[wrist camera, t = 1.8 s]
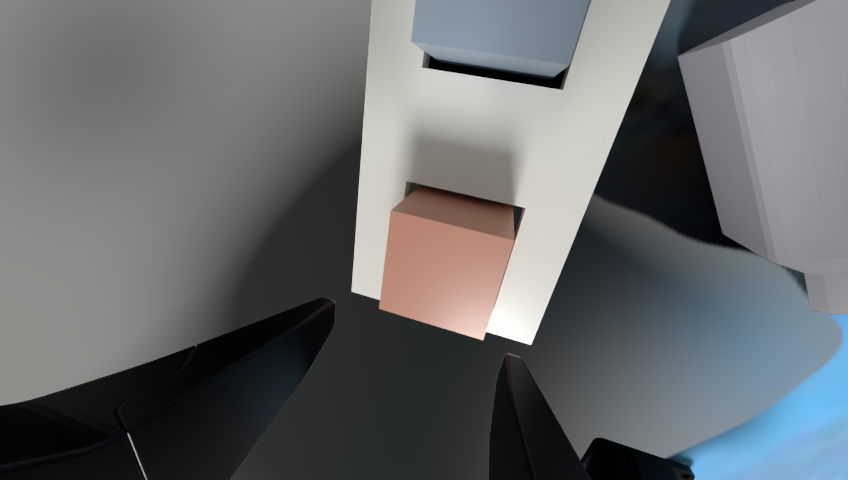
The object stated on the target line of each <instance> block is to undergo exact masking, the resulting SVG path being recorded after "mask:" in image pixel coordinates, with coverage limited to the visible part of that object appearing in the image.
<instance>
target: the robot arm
mask: <svg viewBox="0 0 848 480" xmlns="http://www.w3.org/2000/svg"><path fill="white" fill-rule="evenodd" d="M334 323H335V301H334V300H332V299H328V298H325V297H320V298H317V299H315V300H312V301H310V302H307V303H304V304H302V305H299V306H297V307H294V308H291V309H289V310H286V311H283V312H281V313H278V314H276V315H273V316H270V317H268V318H265V319H263V320H260V321H257V322H255V323H252V324H249V325H247V326H244V327H242V328H239V329H236V330H234V331H231V332H228V333H226V334H223V335H221V336H218V337H215V338H213V339H210V340H207V341H205V342H202V343H200V344H197V346H192V347H189V348H186V349H184V350H181V351H178V352H176V353H173V354H170V355H168V356H165V357H162V358H159V359H157V360H154V361H151V362H148V363H145V364H142V365H139V366H136V367H133V368H130V369H127V370H124V371H121V372H118V373H115V374H112V375H108V376H105V377H102V378H99V379H96V380H93V381H90V382H87V383H84V384H80V385H77V386H74V387H71V388H68V389H64V390H62V391H59V392H55V393H52V394H49V395H46V396H42V397H39V398H35V399H32V400H28V401H23V402H19V403H14V404H8V405H2V406H0V480H230V479H231V477H232V476H233V475H234V473H235V472H236V470H237V469H238V468H239V466H240V465H241V464H242V462H243V461H244V460H245V458H246V457H247V455H248V454H249V453H250V451H251V450H252V448H253V447H254V446H255V444H256V443H257V442H258V440H259V439H260V437H261V436H262V435H263V433H264V432H265V431H266V429H267V428H268V426H269V425H270V424H271V422H272V421H273V420H274V418H275V417H276V415H277V414H278V413H279V411H280V410H281V409H282V407H283V406H284V404H285V403H286V402H287V400H288V399H289V397H290V396H291V394H292V393H293V392H294V390H295V389H296V388H297V386H298V385H299V384H300V382H301V381H302V379H303V378H304V377H305V375H306V374H307V372H308V370H309V369H310V367H311V366H312V364H313V362H314V360H315V359H316V357H317V355H318V353H319V352H320V350H321V348H322V346H323V344H324V343H325V341H326V339H327V338H328V336H329V334H330V333H331V331H332V329H333V326H334ZM694 478H695V476H694V474H693V472H692V470H691V469H690V468H689V467H687V466H685V465H682V464H679V463H676V462H673V461H670V460H667V459H664V458H661V457H657V456H655V455H652V454H649V453H646V452H643V451H640V450H637V449H634V448H631V447H628V446H625V445H622V444H619V443H615V442H613V441H609V440H607V439H604V438H596V439H594V440H593V441H592V443H591V444H590V446H589V448H588V449H587V451H586V453H585V454H584V456H583V457H582V459H581V460H580V459H579V457H578V456H577V454H576V452H575V451H574V449H573V447H572V445H571V443H570V442H569V440H568V438H567V436H566V435H565V433H564V431H563V429H562V428H561V426H560V424H559V422H558V421H557V419H556V417H555V415H554V414H553V412H552V410H551V408H550V407H549V405H548V403H547V401H546V400H545V398H544V396H543V394H542V393H541V391H540V389H539V388H538V386H537V384H536V382H535V380H534V379H533V377H532V375H531V374H530V372H529V370H528V368H527V366H526V365H525V363H524V361H523V359H522V358H521V357H519V356H515V355H512V354H509V353H508V354H506V355H505V357H504V359H503V362H502V365H501V368H500V370H499V373H498V376H497V381H496V389H495V396H494V404H493V411H492V419H491V427H490V438H489V480H694Z"/></svg>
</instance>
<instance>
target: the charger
mask: <svg viewBox="0 0 848 480" xmlns="http://www.w3.org/2000/svg"><path fill="white" fill-rule="evenodd" d="M790 1H791V0H790ZM788 2H789V1H788ZM786 3H787V2H786ZM678 61H679V65H680V69H681V73H682V76H683V80H684V84H685V88H686V92H687V96H688V100H689V104H690V108H691V112H692V116H693V120H694V124H695V127H696V131H697V135H698V139H699V143H700V147H701V151H702V155H703V159H704V163H705V167H706V171H707V175H708V178H709V182H710V186H711V190H712V194H713V198H714V202H715V206H716V210H717V214H718V218H719V222H720V226H721V229H722V233H723V234H724V235H726V236H727V237H729V238H731V239H733V240H734V241H736V242H738V243H739V244H741V245H743V246H745V247H746V248H748V249H750V250H751V251H753V252H755V253H757V254H758V255H760V256H762V257H763V258H765V259H767V260H769V261H771V262H774V263H777V264H780V265H782V266H785V267H788V268H791V269H794V270H797V271H800V272H803V273H804V276H805V281H806V286H807V292H808V297H809V302H810V307H811V311H816V312H822V313H827V314H848V0H794V1H792V2H789V3H787V4H785V3H784V5H783V4H782V6H781V5H780V6H778V7H776V8H774V9H772V10H770V11H768V12H766V13H764V14H762V15H760V16H757V17H755V18H753V19H751V20H749V21H747V22H745V23H743V24H741V25H739V26H737V27H735V28H733V29H731V30H729V31H727V32H725V33H723V34H721V35H719V36H717V37H715V38H713V39H711V40H709V41H707V42H705V43H703V44H701V45H699V46H696V47H694V48H692V49H690V50H689V51H687V52H685V53H683V54H681V55H679V56H678Z"/></svg>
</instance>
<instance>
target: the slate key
mask: <svg viewBox="0 0 848 480" xmlns="http://www.w3.org/2000/svg"><path fill="white" fill-rule="evenodd" d="M589 2H590V0H416V3H415V12H414V20H413V28H412V37H411V42H412V43H413V44H415V45H416V46H418V47H419V48H421V49H422V50H423V51H425V52H426V53H428V54H429V55H431V56H432V57H434V58H435V59H436V60H438V61H439V62H441V63H446V64H452V65H459V66H465V67H472V68H478V69H484V70H491V71H497V72H504V73H510V74H517V75H523V76H530V77H536V78H542V79H549V80H551V79H552V78H553V77H555V76H556V75H557V74H559V73H560V72H561V71H562V70H564V69H565V68H566V67H568V66H569V65H570V62H571V59H572V56H573V53H574V50H575V46H576V43H577V40H578V37H579V34H580V30H581V27H582V24H583V21H584V18H585V14H586V11H587V8H588V5H589Z"/></svg>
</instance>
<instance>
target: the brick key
mask: <svg viewBox="0 0 848 480" xmlns="http://www.w3.org/2000/svg"><path fill="white" fill-rule="evenodd" d="M513 211H514V210H513V205H510V204H506V203H501V202H497V201H492V200H488V199H483V198H479V197H475V196H470V195H466V194H461V193H457V192H452V191H448V190H443V189H439V188H435V187H430V186H426V185H421V186H419V187H418V188H417V189H416V190H415V191H413V192H412V193H411V194H410V195H409V196H407V197H406V198H405V199H404V200H403V201H401V202H400V203H399V204H398V205H397V206H395V207H394V208H393V209H392V210H391V213H390V221H389V230H388V238H387V247H386V255H385V263H384V272H383V280H382V288H381V297H380V305H379V309H382V310H385V311H389V312H391V313H395V314H398V315H401V316H405V317H408V318H412V319H415V320H418V321H421V322H424V323H428V324H431V325H434V326H438V327H441V328H444V329H448V330H451V331H455V332H457V333H461V334H464V335H468V336H471V337H474V338H477V339H481V340H483V339H484V336H485V333H486V330H487V326H488V323H489V320H490V317H491V314H492V311H493V307H494V304H495V301H496V298H497V295H498V291H499V288H500V285H501V282H502V279H503V275H504V272H505V269H506V266H507V263H508V260H509V256H510V253H511V250H512V247H513V244H514V212H513Z"/></svg>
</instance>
